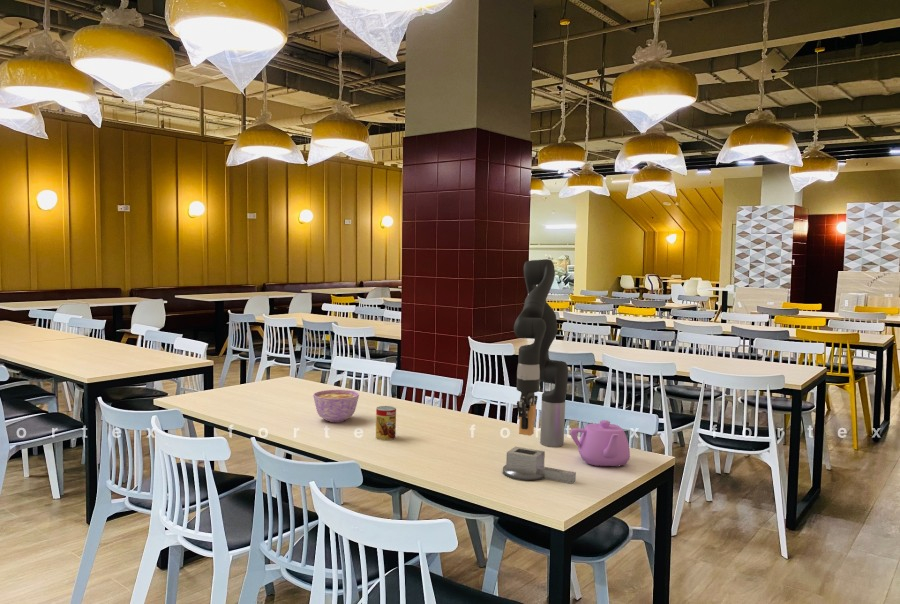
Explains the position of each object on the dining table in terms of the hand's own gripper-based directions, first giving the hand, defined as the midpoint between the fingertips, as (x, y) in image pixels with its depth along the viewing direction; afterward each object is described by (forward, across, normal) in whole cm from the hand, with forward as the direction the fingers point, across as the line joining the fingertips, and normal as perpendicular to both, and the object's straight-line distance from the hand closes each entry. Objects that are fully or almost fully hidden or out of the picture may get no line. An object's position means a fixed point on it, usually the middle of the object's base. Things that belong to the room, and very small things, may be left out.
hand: (526, 427), depth 216 cm
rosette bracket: (+16, 0, +5) cm, 16 cm away
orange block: (+2, 0, 0) cm, 2 cm away
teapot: (+16, -27, +20) cm, 37 cm away
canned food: (+16, -12, -64) cm, 67 cm away
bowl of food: (+16, -24, -98) cm, 102 cm away
